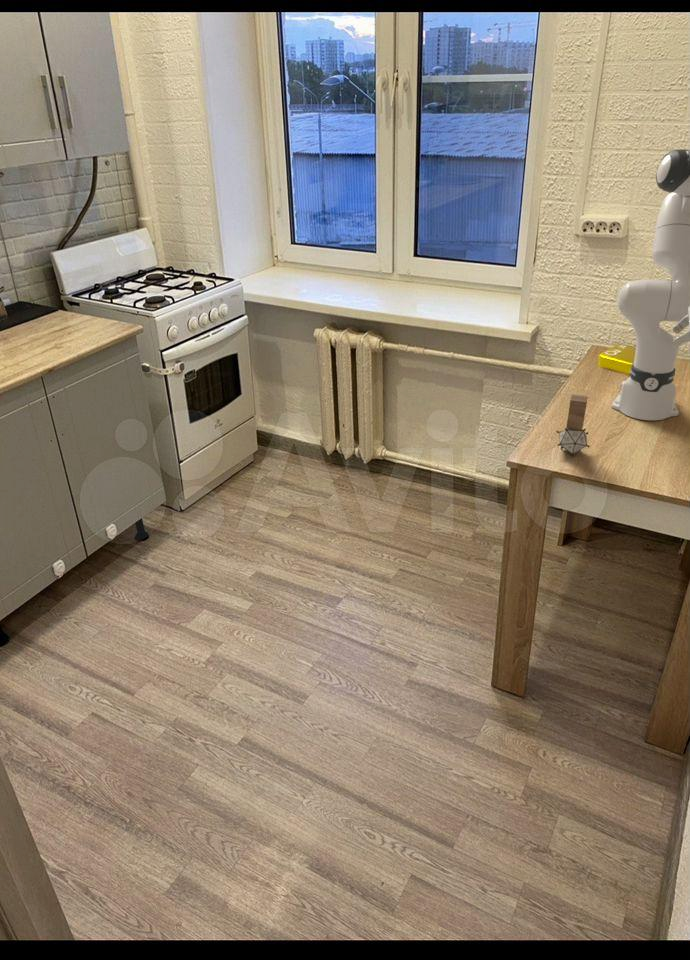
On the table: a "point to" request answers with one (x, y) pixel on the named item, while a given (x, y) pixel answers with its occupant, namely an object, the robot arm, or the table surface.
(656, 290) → the robot arm
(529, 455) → the table surface
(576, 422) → the walnut block
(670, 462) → the table surface
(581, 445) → the game die
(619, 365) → the element tile
